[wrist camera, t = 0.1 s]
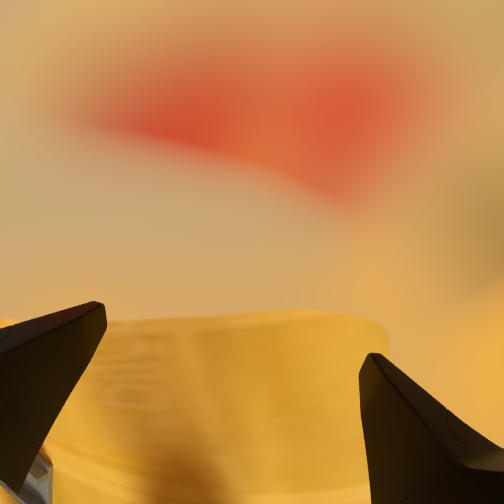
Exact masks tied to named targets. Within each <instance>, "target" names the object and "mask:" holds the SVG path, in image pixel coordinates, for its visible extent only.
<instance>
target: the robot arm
mask: <svg viewBox="0 0 504 504" xmlns="http://www.w3.org/2000/svg"><path fill="white" fill-rule="evenodd" d="M106 328H107V318H106V311H105V306H104V304H102V303H99V302H96V301H92V302H88V303H85V304H82V305H78V306H75V307H72V308H68V309H65V310H61V311H58V312H55V313H51V314H48V315H45V316H42V317H38V318H35V319H31V320H28V321H24V322H21V323H18V324H14V325H13V326H12V325H11V326H7V327H4V328H0V480H1V481H2V482H3V483H4V484H6V485H7V486H8V487H9V488H10V489H12V490H13V491H14V492H15V493H17V494H19V492H20V490H21V488H22V486H23V484H24V481H25V479H26V477H27V475H28V473H29V471H30V468H31V466H32V464H33V462H34V460H35V458H36V456H37V454H38V452H39V450H40V448H41V446H42V444H43V442H44V440H45V438H46V436H47V435H48V433H49V431H50V429H51V427H52V425H53V423H54V422H55V420H56V418H57V416H58V415H59V413H60V411H61V409H62V407H63V406H64V404H65V402H66V401H67V399H68V397H69V395H70V394H71V392H72V390H73V389H74V387H75V385H76V384H77V382H78V380H79V379H80V377H81V376H82V374H83V372H84V371H85V369H86V368H87V366H88V364H89V363H90V361H91V359H92V357H93V355H94V353H95V351H96V349H97V347H98V345H99V343H100V341H101V339H102V337H103V335H104V333H105V331H106ZM359 391H360V411H361V420H362V426H363V433H364V440H365V447H366V455H367V463H368V472H369V482H370V492H371V504H504V449H503V448H501V447H499V446H497V445H496V444H494V443H493V442H491V441H490V440H488V439H487V438H485V437H484V436H482V435H481V434H480V433H478V432H477V431H475V430H474V429H472V428H471V427H470V426H468V425H467V424H465V423H464V422H463V421H461V420H460V419H459V418H458V417H457V416H455V415H454V414H453V413H452V412H451V411H449V410H448V409H447V410H446V408H445V407H444V406H443V405H442V404H441V403H440V402H438V401H437V400H436V399H435V398H434V397H432V396H431V395H430V394H429V393H428V392H426V391H425V390H424V389H423V388H422V387H420V386H419V385H418V384H417V383H416V382H414V381H413V380H412V379H411V378H409V377H408V376H407V375H406V374H405V373H403V372H402V371H401V370H400V369H399V368H397V367H396V366H395V365H394V364H393V363H391V362H390V361H389V360H388V359H386V358H385V357H384V356H383V355H382V354H380V353H369V354H368V355H367V357H366V359H365V361H364V363H363V365H362V367H361V369H360V372H359Z"/></svg>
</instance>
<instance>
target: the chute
mask: <svg viewBox="0 0 504 504" xmlns="http://www.w3.org/2000/svg"><path fill="white" fill-rule="evenodd" d="M52 472H53V465H52V464H50V463H49V462H48V461H46V460H45V459H44V458H43V457H41V456H40V455H39V454H37V456H36V458H35V460H34V462H33V464H32V466H31V468H30V471H29V473H28V475H27V477H26V479H25V481H24V484H23V486H22V488H21V490H20V492H19V494H17V493H15V492H14V491H13V490H12V489H10V488H9V487H8V486H7V485H6V484H4V483H3V482H2V481H1V480H0V485H1V486H2V487H3V488H5V489H6V490H7V491H8V492H9V493H10V494H11V495H12V496H13V497H14V498H15V499H16V500H18V501H19V502H20V503H21V504H52Z"/></svg>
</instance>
